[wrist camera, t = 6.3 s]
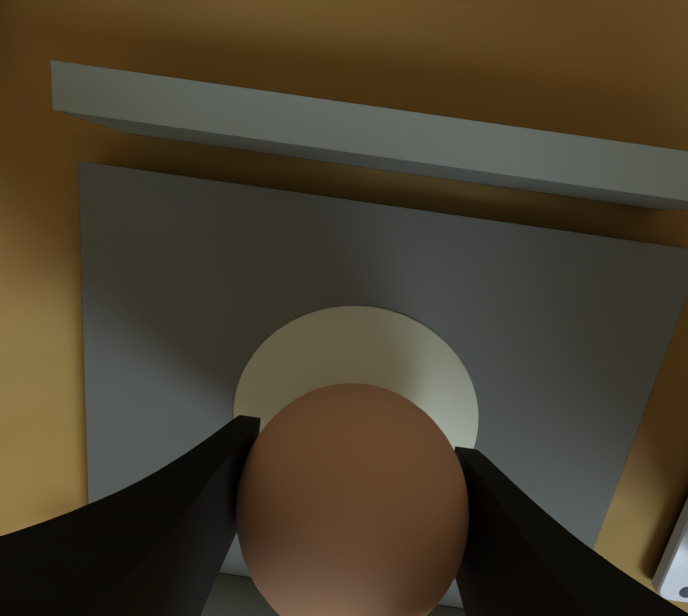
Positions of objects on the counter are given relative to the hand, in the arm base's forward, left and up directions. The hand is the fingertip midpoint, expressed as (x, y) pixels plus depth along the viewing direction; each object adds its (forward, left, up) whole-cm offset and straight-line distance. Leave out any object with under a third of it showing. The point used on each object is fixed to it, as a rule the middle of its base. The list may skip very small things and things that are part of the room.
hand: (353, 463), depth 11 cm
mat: (0, 0, -3) cm, 3 cm away
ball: (0, 0, +1) cm, 1 cm away
